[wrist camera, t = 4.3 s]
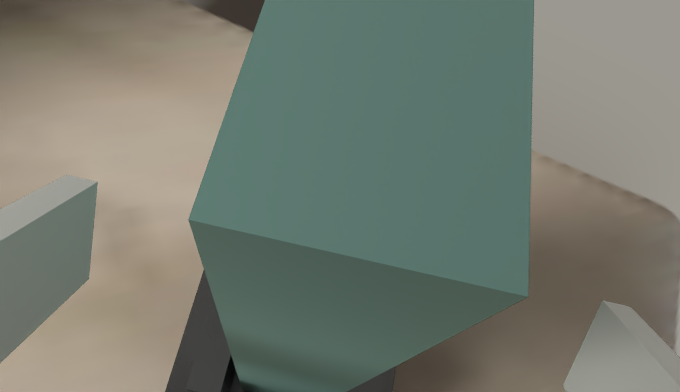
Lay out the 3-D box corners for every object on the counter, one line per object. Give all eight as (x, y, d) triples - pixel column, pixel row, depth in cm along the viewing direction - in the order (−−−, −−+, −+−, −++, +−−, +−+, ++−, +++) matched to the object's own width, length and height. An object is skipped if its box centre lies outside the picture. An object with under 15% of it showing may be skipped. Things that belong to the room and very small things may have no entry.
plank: (318, 406, 23) (528, 297, 5) (242, 390, 23) (188, 219, 5) (345, 261, 26) (536, -120, 8) (279, 246, 26) (326, -176, 8)
